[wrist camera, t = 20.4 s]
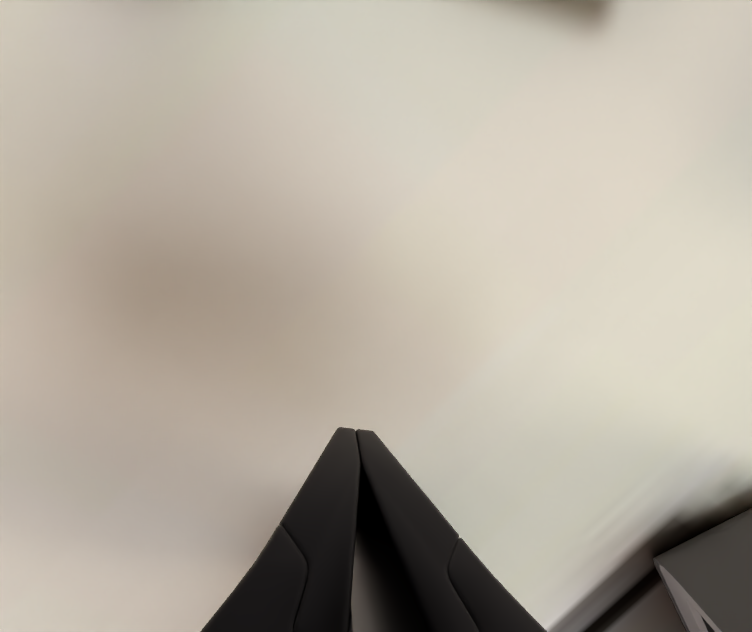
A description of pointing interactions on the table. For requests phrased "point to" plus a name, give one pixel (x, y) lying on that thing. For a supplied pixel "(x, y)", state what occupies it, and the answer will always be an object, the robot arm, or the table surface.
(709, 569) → the alarm clock
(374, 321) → the table surface
